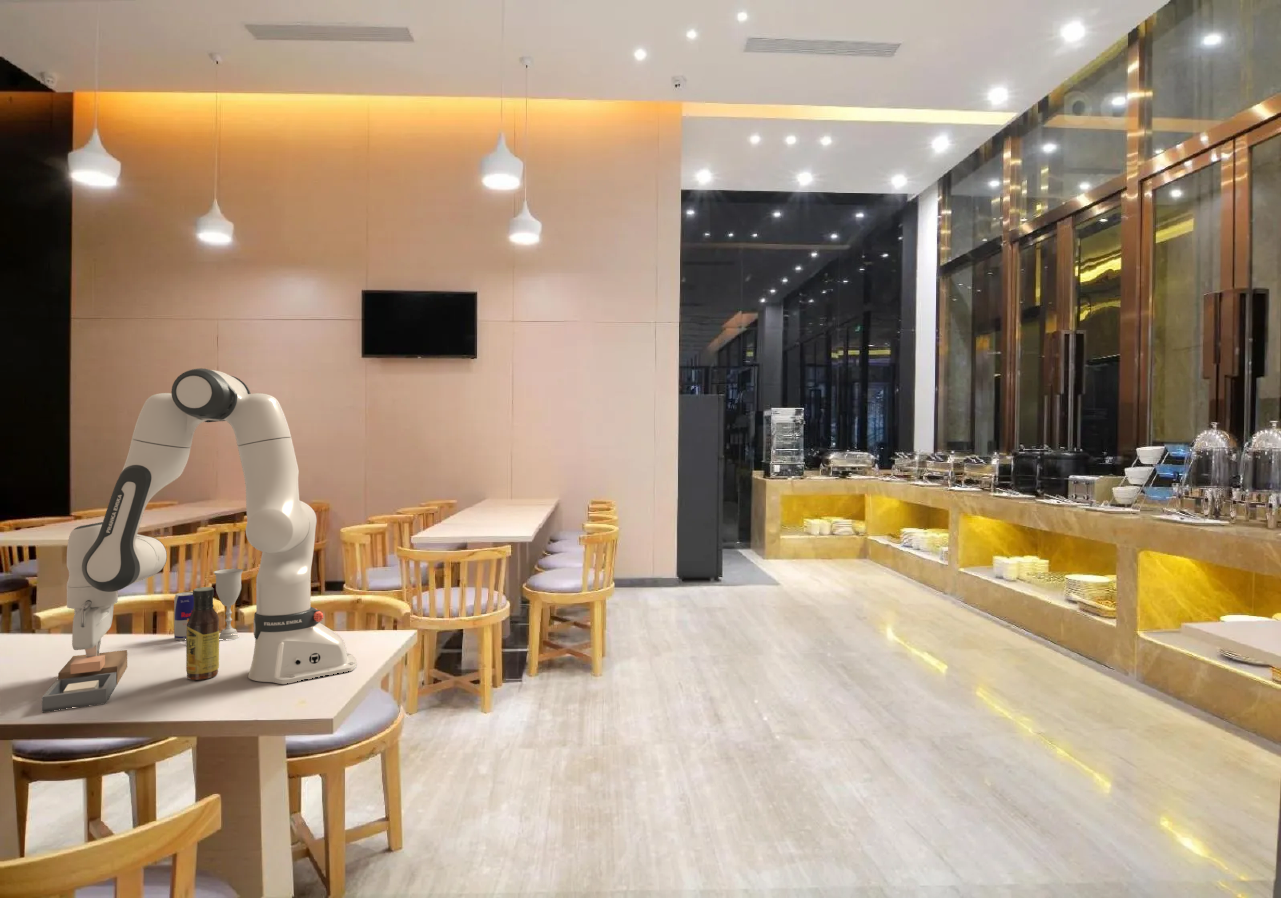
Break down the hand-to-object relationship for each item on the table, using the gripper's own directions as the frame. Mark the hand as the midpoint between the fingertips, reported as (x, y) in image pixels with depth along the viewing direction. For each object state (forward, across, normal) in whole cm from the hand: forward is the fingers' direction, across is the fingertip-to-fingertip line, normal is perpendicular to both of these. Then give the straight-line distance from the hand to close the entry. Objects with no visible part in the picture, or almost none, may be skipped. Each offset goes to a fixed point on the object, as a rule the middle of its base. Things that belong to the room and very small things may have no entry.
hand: (92, 660), depth 155 cm
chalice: (+5, +28, -25) cm, 37 cm away
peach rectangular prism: (+1, -4, 0) cm, 4 cm away
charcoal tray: (+5, -11, 0) cm, 12 cm away
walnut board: (+5, +3, 0) cm, 5 cm away
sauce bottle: (+5, -7, -21) cm, 23 cm away
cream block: (+2, -11, 0) cm, 11 cm away
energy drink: (+5, +33, -15) cm, 36 cm away
